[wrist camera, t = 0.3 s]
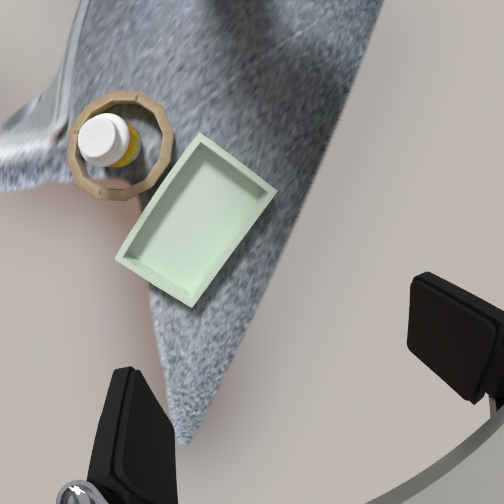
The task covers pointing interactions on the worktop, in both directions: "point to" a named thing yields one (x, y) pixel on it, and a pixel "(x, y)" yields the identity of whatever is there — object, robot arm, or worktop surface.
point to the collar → (97, 108)
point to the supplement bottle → (109, 141)
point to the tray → (195, 221)
